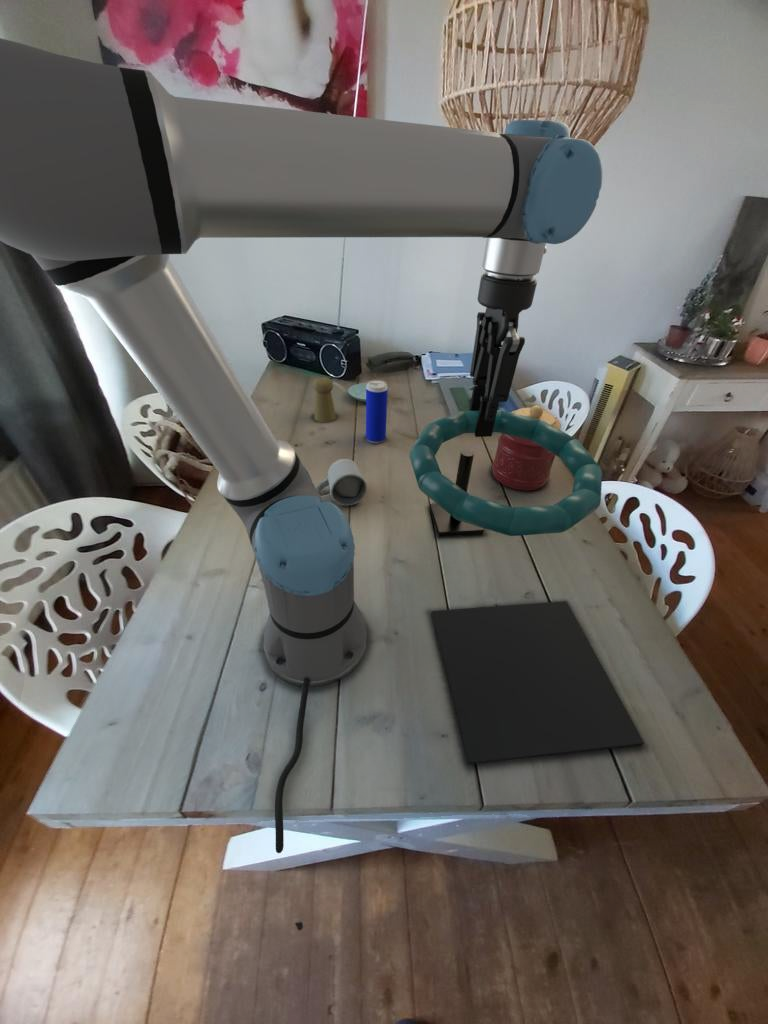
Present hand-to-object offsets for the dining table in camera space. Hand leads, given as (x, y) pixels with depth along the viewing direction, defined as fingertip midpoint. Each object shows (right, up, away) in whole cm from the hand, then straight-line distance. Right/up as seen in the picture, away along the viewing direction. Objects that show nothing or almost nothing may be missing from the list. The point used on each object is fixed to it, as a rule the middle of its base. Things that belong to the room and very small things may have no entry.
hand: (479, 429), depth 74 cm
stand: (-1, -16, +16) cm, 22 cm away
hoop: (+2, -7, -9) cm, 12 cm away
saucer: (-21, +21, +60) cm, 67 cm away
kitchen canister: (+16, -6, +29) cm, 34 cm away
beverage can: (-18, +5, +41) cm, 45 cm away
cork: (-33, +13, +49) cm, 60 cm away
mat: (+4, -37, -10) cm, 39 cm away
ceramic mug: (-25, -11, +21) cm, 35 cm away
